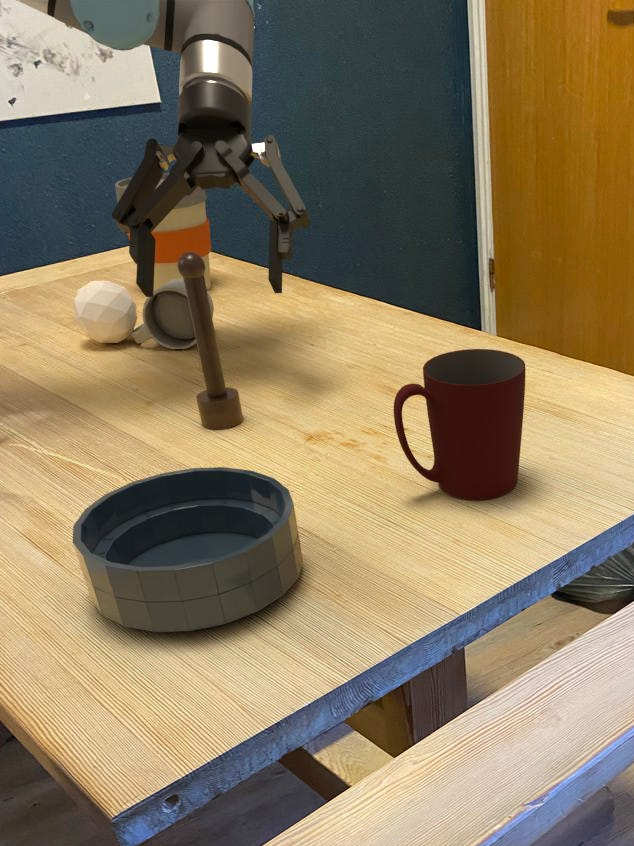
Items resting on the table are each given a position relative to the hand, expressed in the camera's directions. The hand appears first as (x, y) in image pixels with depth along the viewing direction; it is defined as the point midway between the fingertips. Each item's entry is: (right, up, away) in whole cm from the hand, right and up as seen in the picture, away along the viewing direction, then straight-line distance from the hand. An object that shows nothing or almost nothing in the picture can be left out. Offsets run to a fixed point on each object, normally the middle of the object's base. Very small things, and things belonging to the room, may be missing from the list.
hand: (209, 288), depth 97 cm
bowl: (+6, -32, -22) cm, 39 cm away
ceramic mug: (-12, +3, +26) cm, 29 cm away
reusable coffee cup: (-18, +17, +46) cm, 53 cm away
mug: (+26, -22, -10) cm, 36 cm away
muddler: (0, -13, +4) cm, 13 cm away
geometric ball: (-20, +3, +27) cm, 33 cm away
